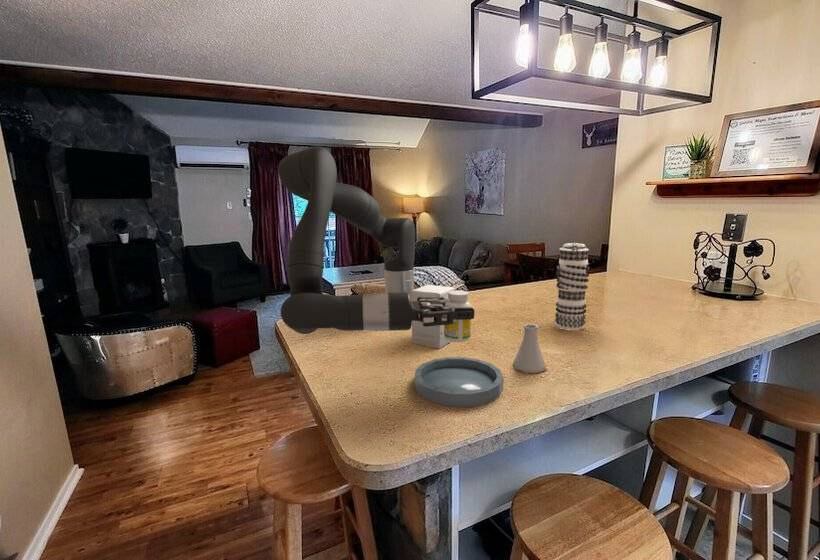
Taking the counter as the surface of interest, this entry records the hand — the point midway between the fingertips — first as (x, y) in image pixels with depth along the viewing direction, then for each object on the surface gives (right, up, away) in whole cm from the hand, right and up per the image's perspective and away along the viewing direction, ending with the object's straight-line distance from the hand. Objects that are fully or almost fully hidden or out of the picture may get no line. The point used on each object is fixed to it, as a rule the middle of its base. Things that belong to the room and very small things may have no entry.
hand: (470, 309), depth 80 cm
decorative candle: (+36, -8, +40) cm, 55 cm away
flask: (+15, -14, +11) cm, 24 cm away
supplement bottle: (-3, -6, +1) cm, 7 cm away
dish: (-2, -16, +3) cm, 17 cm away
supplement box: (-6, -11, +30) cm, 32 cm away
